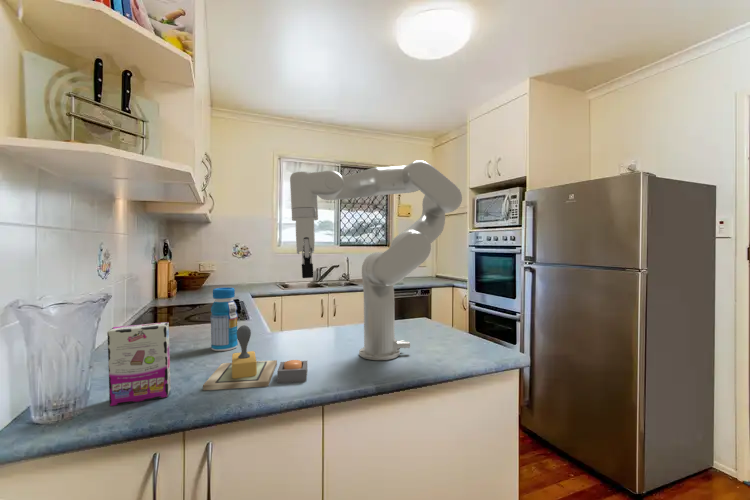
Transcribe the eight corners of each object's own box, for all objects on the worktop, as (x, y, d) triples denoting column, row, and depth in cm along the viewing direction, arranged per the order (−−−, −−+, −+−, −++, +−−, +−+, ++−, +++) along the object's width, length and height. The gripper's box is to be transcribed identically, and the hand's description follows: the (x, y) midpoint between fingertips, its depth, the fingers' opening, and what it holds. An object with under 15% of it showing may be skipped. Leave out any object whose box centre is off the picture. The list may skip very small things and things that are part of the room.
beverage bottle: (212, 353, 114) (211, 290, 113) (209, 346, 121) (208, 288, 121) (240, 349, 118) (239, 288, 118) (236, 343, 125) (235, 286, 125)
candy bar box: (171, 389, 85) (169, 321, 85) (168, 397, 81) (167, 325, 80) (114, 398, 81) (113, 325, 80) (108, 407, 76) (106, 330, 76)
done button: (302, 372, 95) (302, 359, 95) (301, 378, 90) (301, 365, 90) (285, 373, 94) (285, 360, 94) (283, 379, 90) (283, 366, 90)
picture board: (276, 364, 102) (276, 359, 102) (268, 386, 86) (268, 380, 86) (221, 367, 100) (221, 362, 100) (202, 390, 84) (202, 384, 84)
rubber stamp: (256, 375, 90) (256, 328, 90) (232, 379, 88) (231, 330, 88) (254, 363, 99) (254, 320, 99) (232, 366, 97) (231, 322, 97)
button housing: (307, 371, 96) (307, 360, 96) (306, 381, 89) (306, 369, 89) (280, 373, 95) (280, 362, 95) (277, 383, 88) (277, 371, 88)
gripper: (292, 217, 111) (295, 276, 111) (291, 213, 96) (294, 281, 97) (316, 216, 112) (319, 274, 113) (319, 212, 98) (322, 279, 98)
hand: (307, 277), depth 105 cm, fingers closed
